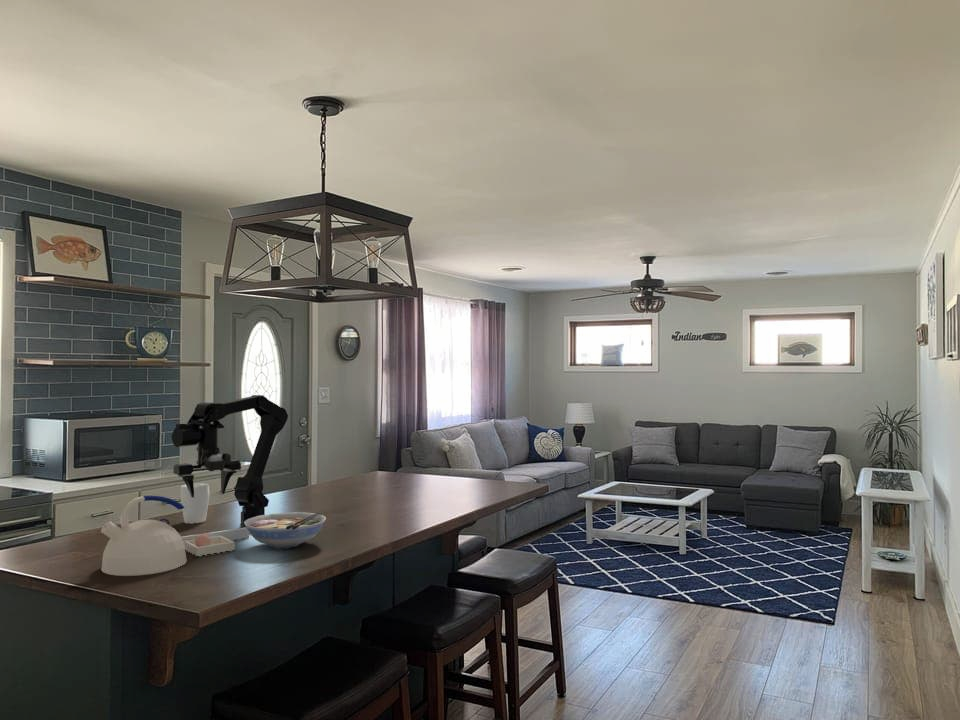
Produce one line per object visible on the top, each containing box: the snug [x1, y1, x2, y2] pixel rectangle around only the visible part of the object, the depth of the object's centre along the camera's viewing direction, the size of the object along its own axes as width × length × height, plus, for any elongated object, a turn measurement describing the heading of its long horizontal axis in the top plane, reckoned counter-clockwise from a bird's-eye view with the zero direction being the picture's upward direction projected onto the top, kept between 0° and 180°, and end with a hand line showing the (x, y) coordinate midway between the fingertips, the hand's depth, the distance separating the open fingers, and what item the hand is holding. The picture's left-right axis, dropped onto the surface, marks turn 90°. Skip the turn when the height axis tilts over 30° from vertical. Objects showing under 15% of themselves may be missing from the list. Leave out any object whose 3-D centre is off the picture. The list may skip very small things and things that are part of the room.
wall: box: [181, 527, 250, 542], centre depth 219 cm, size 20×1×3 cm, turn 130°
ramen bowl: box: [244, 510, 327, 549], centre depth 215 cm, size 25×23×8 cm
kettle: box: [100, 495, 188, 577], centre depth 195 cm, size 20×21×18 cm
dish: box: [184, 536, 236, 557], centre depth 210 cm, size 10×10×2 cm
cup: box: [179, 482, 211, 525], centre depth 249 cm, size 9×9×12 cm
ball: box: [195, 533, 210, 547], centre depth 209 cm, size 4×4×4 cm
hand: (207, 495), depth 229 cm, fingers open, 9 cm apart
